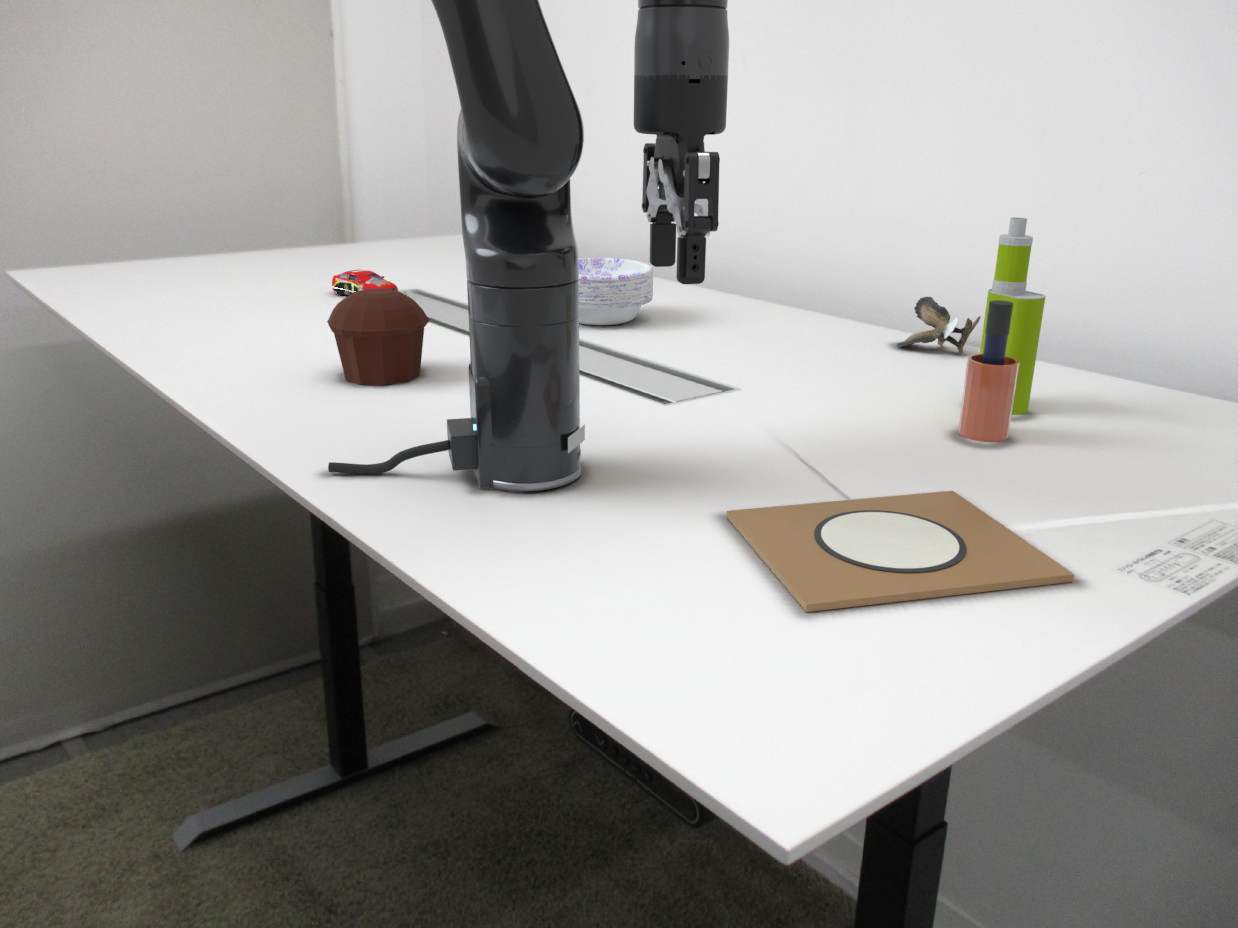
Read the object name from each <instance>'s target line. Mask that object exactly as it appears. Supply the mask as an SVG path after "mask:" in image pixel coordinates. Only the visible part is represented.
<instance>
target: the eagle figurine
mask: <svg viewBox="0 0 1238 928" xmlns="http://www.w3.org/2000/svg"><path fill="white" fill-rule="evenodd" d="M913 309H914V313H915V314H916V317H917V318H918V319H919V320H920V321H922V322H923V323H924V324H925V325H927V326H929V327H932V328H933V329H929V330H924V331H923V330H922V331H918V332H915V333H912V334H910V335H908V337H907V338H906V339H904V341H902V342H899V343H896V346H897V347H899V348H902V347H907V346H909V345H914V344H920V343H921V344H928V343H933V342H935V341H936V340H937V345H939V346H940V347H941V348H944V344H945V342H948V343H950V344H952V345H953V346H955V347H956V349H957V353H958V354H959V355H960V356H962V355H963V351H964V346H965V345H966V343H967V341H968V339H969V337H970V335H971V334H972V332H973V331H974V329H975V328H976V327H977V325H978V324H979V322H980V319H981V316H980V315H979V316H978V317H976V319H975V320H974V321H973V320H971V318H969V317H967V319H966V321H965V324H964V327H961V328H958V325H959V322H960V318H959V316H956V317H955V318H954V319H953V320H951V314H950V312H949V311H948V309H947V308H946V307H945V306H942V305H939V303H938V302H936V301H935V300H934V298H933V297H931V296H923V297H920V298H919V299H918V300H917V302H915V306H914V308H913ZM950 320H951V321H950ZM953 333H955V334H961V335H960V338H959V340H958V341H957V340H956V338H954V337H953V336H951V334H953Z"/></svg>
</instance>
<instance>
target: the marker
mask: <svg viewBox="0 0 1238 928" xmlns="http://www.w3.org/2000/svg"><path fill="white" fill-rule="evenodd" d="M1012 309H1013V303H1012V302H1009V301H1001V300H994V301H990V302H989V310H988V317H987V324H986V332H985V333H986V336H985V343H984V351H983V358H982V363H984V364H991V365H1004V361H1005V354H1006V347H1007V340H1008V335H1009V330H1010V323H1011V316H1012Z"/></svg>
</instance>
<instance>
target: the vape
mask: <svg viewBox="0 0 1238 928" xmlns="http://www.w3.org/2000/svg"><path fill="white" fill-rule="evenodd" d="M1027 224H1028V218H1026V217H1010V218H1009V224H1008V225H1009V226H1008V233H1005V234H1000V235H999V238H998V247H997V255H996V263H995V269H994V270H995V271H994V277H993V279H992V285H991V288H988V290H987V298H986V305H985V312H984V319H983V325H982V326H983V328H982V335H981V342H980V349H979V354H983V351H984V343H985V336H986V333H985V332H986V324H987V317H988V310H989V302H990V301H994V300H1001V301H1009V302H1012V303H1013V309H1012V316H1011V323H1010V330H1009V335H1008V340H1007V347H1006V354H1005V356H1009V357H1012V358H1015V359H1017V360H1018V361H1019V369H1018V375H1017V382H1016V389H1015V395H1014V402H1013V409H1012V415H1011V416H1015V415H1017V416H1018V415H1023V414H1026V413H1028V412H1029V405H1030V400H1031V393H1032V386H1033V380H1034V374H1035V367H1036V362H1037V361H1036V360H1037V354H1038V349H1039V342H1040V335H1041V329H1042V323H1043V315H1044V309H1045V304H1046V295H1045V294H1043V293H1038V292H1033V291H1029V290H1027V286H1028V280H1027V279H1028V271H1029V266H1030V260H1031V259H1030V258H1031V252H1032V246H1033V241H1034V237H1033V236H1032V235H1027V234H1026V231H1027Z"/></svg>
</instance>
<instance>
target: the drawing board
mask: <svg viewBox="0 0 1238 928" xmlns="http://www.w3.org/2000/svg"><path fill="white" fill-rule="evenodd" d="M726 519H728V521H729V522H730V523H731V524H732V526H733V527H734V528H735V529H736V531H738V533H739V534H740V535H741V537H743V539H744V540H745V541H746V542H747V543H748V545H749V546H750V547H751V548H752V549H753V550H754V552H755V553H756V554H757V556H759V557H760V559H761V560H762V561H763V562H764V564H765V565H766V566H767V567H768V568H769V569H770V571H771V572H772V574H774V575H775V577H776V579H778V580H779V581H780V582H781V584H782V585H783V586H784V587H785V588H786V590H787V591H788V592H789V593H790V595H791V596H792V597H793V598H794V600H795V601H796V602H797V603H798V604H799V605H800V606H801V608H802V609H803V610H804V611H805V613H811V612H819V611H828V610H837V609H845V608H846V609H847V608H854V607H865V606H872V605H881V604H891V603H898V602H907V601H917V600H925V599H934V598H943V597H950V596H952V597H953V596H959V595H968V594H976V593H986V592H995V591H1002V590H1003V591H1004V590H1011V589H1020V588H1021V589H1022V588H1030V587H1038V586H1039V587H1040V586H1046V585H1048V586H1049V585H1055V584H1066V583H1073V582H1074V579H1075V573H1074V572H1072V571H1070V570H1069V569H1068V568H1066V567H1065V566H1063V565H1062V564H1060V563H1059V562H1058V561H1056V560H1054V559H1053V558H1052V557H1050V556H1049V555H1047V554H1046V553H1044V552H1042V551H1041V550H1040V549H1039V548H1037V547H1035V546H1034V545H1032V544H1031V543H1029V542H1028V541H1027V540H1025V539H1023V537H1021V536H1019V535H1018V534H1017V533H1016V532H1014V531H1012V530H1011V529H1009V528H1008V527H1006V526H1005V525H1003V524H1002V523H1000V522H999V521H997V520H996V519H995V518H993V517H992V516H990V515H989V514H987V513H986V512H984V511H983V510H981V509H980V508H979V507H977V506H976V505H974V504H973V503H971V502H970V501H969V500H967V499H965V498H964V497H962V496H961V495H960V494H959V493H957V492H955V491H954V490H945V491H944V490H943V491H933V492H922V493H921V492H920V493H910V494H899V495H889V496H888V495H887V496H877V497H867V498H866V497H865V498H855V499H843V500H833V501H821V502H810V503H809V502H808V503H799V504H798V503H797V504H788V505H787V504H785V505H778V506H777V505H775V506H766V507H755V508H753V507H752V508H743V509H742V508H741V509H732V510H727V511H726Z"/></svg>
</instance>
